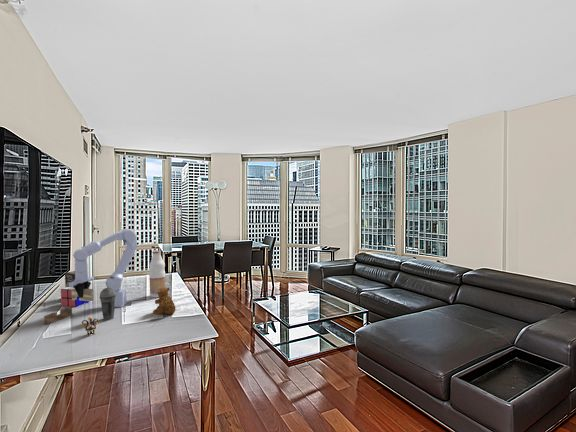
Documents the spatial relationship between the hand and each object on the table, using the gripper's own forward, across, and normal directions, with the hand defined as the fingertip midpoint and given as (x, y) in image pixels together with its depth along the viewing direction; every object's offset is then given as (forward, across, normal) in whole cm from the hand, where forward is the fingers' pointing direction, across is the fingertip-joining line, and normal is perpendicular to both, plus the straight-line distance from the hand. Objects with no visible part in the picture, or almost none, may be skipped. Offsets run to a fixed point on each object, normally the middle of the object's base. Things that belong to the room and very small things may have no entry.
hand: (82, 296), depth 176 cm
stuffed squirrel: (+9, -6, +46) cm, 47 cm away
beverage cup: (+8, +7, +22) cm, 24 cm away
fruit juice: (+9, -34, +23) cm, 42 cm away
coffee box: (+8, -21, -26) cm, 35 cm away
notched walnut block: (+8, +12, -3) cm, 15 cm away
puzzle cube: (+8, -11, -16) cm, 21 cm away
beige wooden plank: (+2, 0, 0) cm, 2 cm away
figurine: (+8, +26, +28) cm, 39 cm away
